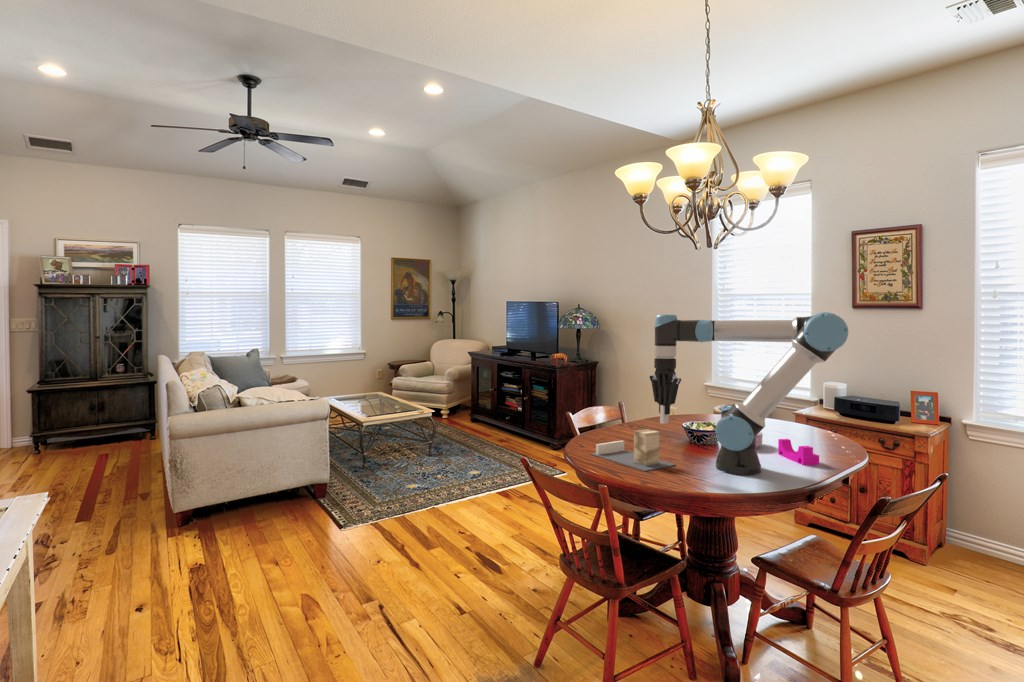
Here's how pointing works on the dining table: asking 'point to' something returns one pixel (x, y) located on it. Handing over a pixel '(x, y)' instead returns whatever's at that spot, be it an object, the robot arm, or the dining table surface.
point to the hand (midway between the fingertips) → (664, 423)
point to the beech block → (646, 447)
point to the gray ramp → (631, 460)
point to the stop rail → (609, 447)
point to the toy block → (797, 453)
